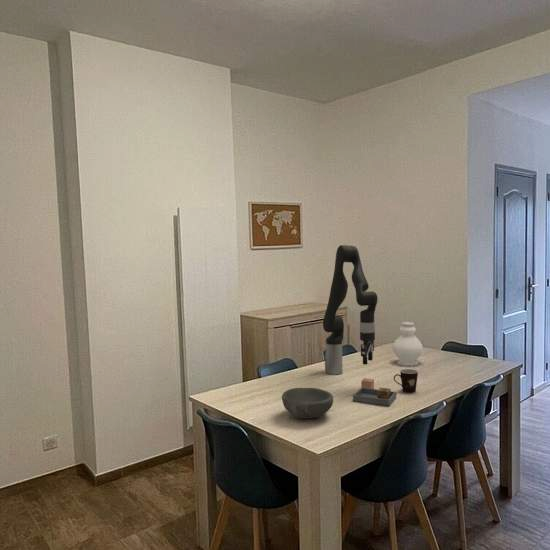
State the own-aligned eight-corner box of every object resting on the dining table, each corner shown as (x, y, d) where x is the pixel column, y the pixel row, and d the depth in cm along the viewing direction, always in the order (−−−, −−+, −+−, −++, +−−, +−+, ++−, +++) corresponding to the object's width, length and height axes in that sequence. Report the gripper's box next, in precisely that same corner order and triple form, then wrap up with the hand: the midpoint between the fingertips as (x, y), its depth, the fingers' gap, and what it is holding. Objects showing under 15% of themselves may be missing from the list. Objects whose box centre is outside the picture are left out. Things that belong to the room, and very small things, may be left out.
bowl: (338, 424, 202) (338, 401, 202) (284, 427, 201) (284, 403, 200) (328, 405, 225) (327, 384, 224) (279, 408, 223) (279, 386, 223)
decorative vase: (401, 368, 287) (401, 326, 285) (387, 360, 304) (387, 321, 302) (428, 365, 291) (428, 324, 289) (413, 358, 308) (413, 319, 307)
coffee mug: (418, 389, 247) (418, 369, 246) (417, 394, 239) (417, 374, 238) (394, 387, 251) (394, 368, 250) (393, 392, 243) (393, 372, 242)
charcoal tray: (352, 401, 230) (352, 395, 230) (361, 393, 242) (361, 387, 242) (388, 406, 222) (388, 400, 222) (396, 398, 234) (396, 391, 234)
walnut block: (377, 400, 229) (377, 390, 229) (380, 397, 233) (380, 387, 233) (387, 402, 227) (387, 391, 226) (390, 399, 231) (390, 388, 231)
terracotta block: (361, 390, 247) (361, 380, 247) (364, 387, 252) (364, 378, 251) (371, 391, 245) (370, 381, 244) (374, 388, 249) (373, 379, 249)
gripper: (364, 328, 254) (365, 358, 255) (355, 332, 242) (356, 364, 243) (378, 328, 250) (379, 359, 252) (370, 333, 238) (370, 366, 239)
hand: (367, 362), depth 247 cm, fingers open, 8 cm apart
